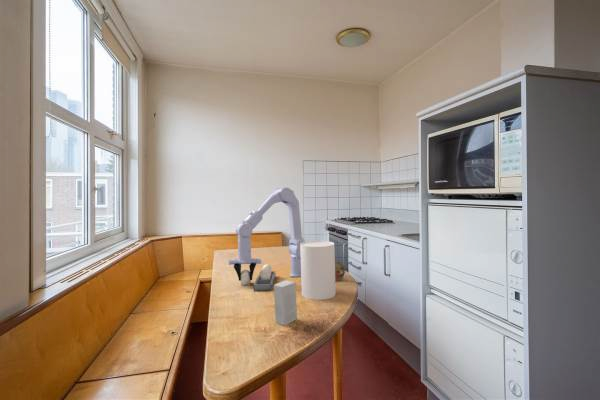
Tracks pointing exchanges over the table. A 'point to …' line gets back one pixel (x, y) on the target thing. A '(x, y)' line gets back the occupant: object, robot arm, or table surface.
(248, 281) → the egg
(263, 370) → the table surface
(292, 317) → the skincare box
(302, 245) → the canister
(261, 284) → the egg crate
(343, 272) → the tin
